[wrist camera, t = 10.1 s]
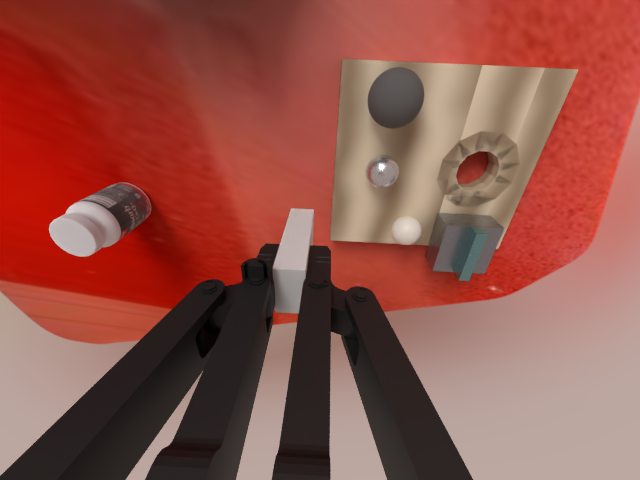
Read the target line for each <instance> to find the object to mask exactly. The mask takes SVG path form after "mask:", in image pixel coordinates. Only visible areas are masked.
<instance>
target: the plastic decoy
mask: <svg viewBox="0 0 640 480" xmlns="http://www.w3.org/2000/svg"><path fill="white" fill-rule="evenodd" d="M391 233H392V236H393V238H394V240H395V241H396V242H398V243H399V244H402V245H410V244H413V243H415V242H416V241H417V240H418V239H419V238H420V236H421V233H422V228H421V225H420V223H419V221H418V220H417V219H415V218H413V217H411V216H402V217H400V218H398V219H397V220H396V221H395V222H394V223H393V225H392V228H391Z"/></svg>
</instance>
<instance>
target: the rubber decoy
mask: <svg viewBox="0 0 640 480" xmlns="http://www.w3.org/2000/svg"><path fill="white" fill-rule="evenodd" d="M423 102H424V87H423V84H422V81H421V79H420V78H419V76H418V75H417V74H416V73H415V72H413V71H412V70H410V69H407V68H404V67H395V68H391V69H388V70H386V71H384V72H383V73H381V74H380V75H379V76H378V77H377V78H376V79H375V81H374V82H373V84H372V86H371V88H370V90H369V94H368V109H369V112H370V114H371V116H372V118H373V119H374V121H375V122H376V123H378V124H379V125H381V126H383V127H385V128H390V129H395V128H400V127H403V126H405V125H407V124H409V123H410V122H411V121H412V120H414V119H415V117H416V116H417V115H418V113H419V112H420V110H421V108H422V105H423Z"/></svg>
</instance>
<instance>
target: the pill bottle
mask: <svg viewBox="0 0 640 480" xmlns="http://www.w3.org/2000/svg"><path fill="white" fill-rule="evenodd" d="M150 213H151V203H150V200H149V198H148V197H147V195H146V194H145V193H144V192H143V191H142V190H141V189H140V188H138V187H137V186H135V185H133V184H130V183H125V182H119V183H115V184H112V185H110V186H108V187H106V188H104V189H102V190H100V191H98V192H96V193H94V194H92V195H90V196H88V197H86V198H84V199H82V200H80V201H78V202H76V203H74V204H73V205H71V206H70V207H69V208H68V209H67V211H66V214H64V215H62V216H60V217H58V218H57V219H55V220H53V221H52V222H51V224H50V226H49V232H50V235H51V237H52V239H53V240H54V242H55V243H56V244H57V245H58V246H59V247H60V248H61V249H63V250H64V251H66V252H68V253H70V254H73V255H76V256H82V257H84V256H90V255H92V254H93V253H95V252H96V251H98V250H99V249H101V248H102V247H108V246H111V245H113V244H114V243H116V242H117V241H119V240H120V239H121V238H123V237H124V236H125V235H126V234H128V233H129V232H130V231H132V230H133V229H134V228H135V227H137V226H138V225H139V224H141V223H142V222H143V221H145V220H146V219H147V218H148V217H149V215H150Z"/></svg>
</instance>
